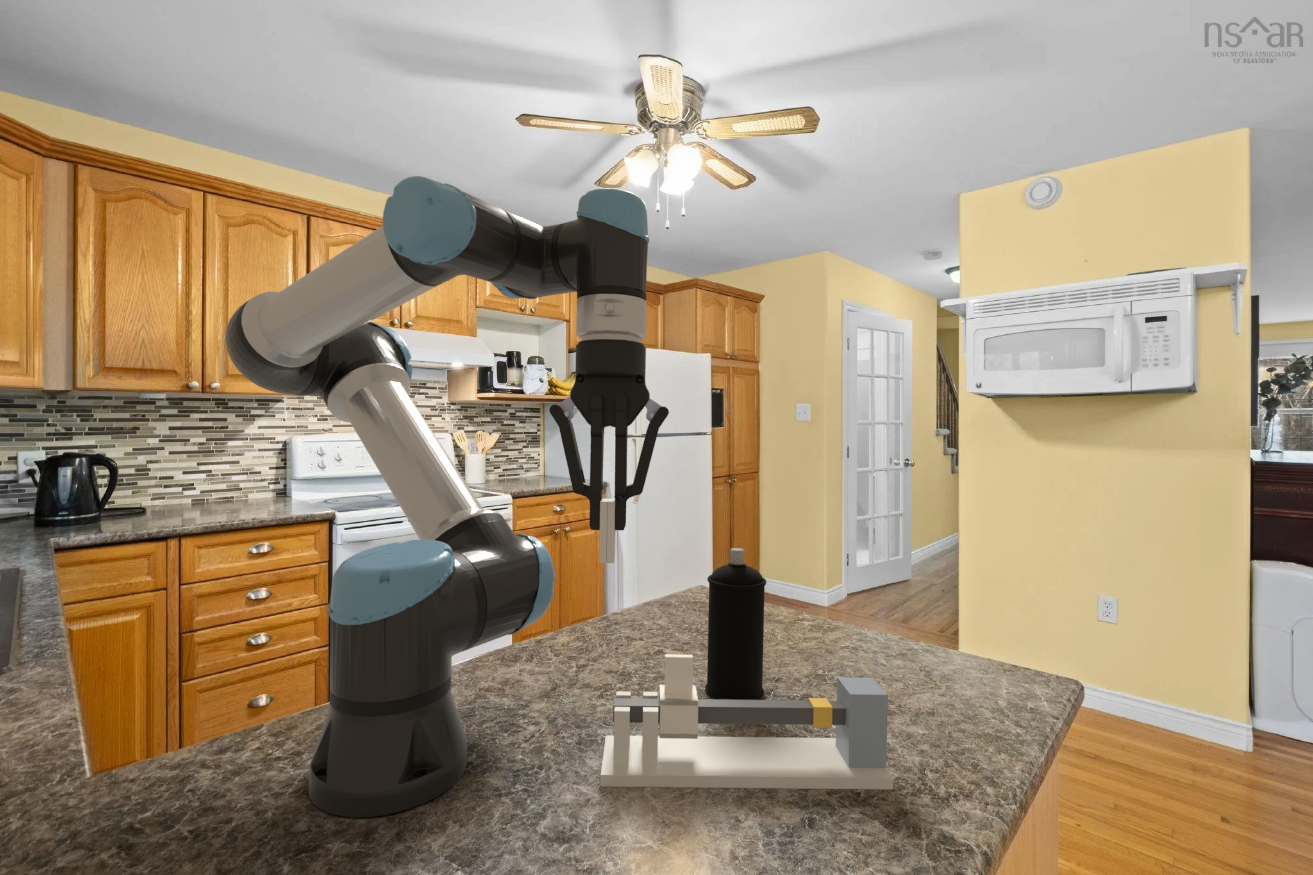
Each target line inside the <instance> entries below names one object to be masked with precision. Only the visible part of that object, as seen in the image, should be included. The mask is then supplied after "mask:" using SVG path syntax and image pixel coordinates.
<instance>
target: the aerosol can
mask: <svg viewBox="0 0 1313 875" xmlns="http://www.w3.org/2000/svg"><path fill="white" fill-rule="evenodd" d="M729 551H730V554H729V555H730V558H729V563H728V564H724V565H722V566H720V567H717V568H716V569H715V570H713V572H712V573H711V574H710V575H708V576H707V578H706V579H707V580H706V581H707V582H708V619H707V620H708V621H707V622H708V623H707V624H708V626H707V628H708V629H707V631H708V632H707V673H706V676H707V677H706V681H707V682H706V684H705V686H704V690H705V693H706V694H707V695H708V697H710V698H712V699H721V700H762V698H763V697H764V695H765V690H764V688H763V683H764V682H763V677H764V676H763V675H764V673H763V672H764V671H763V670H764V634H765V633H764V630H765V629H764V628H765V624H764V623H765V591H766V590H765V586H766V585H767V583H768V582H767V579H766V578H764V577H763V574H761V573H760V571H758V570H757V569H756V568H753V567H752V566H749V565H747V564H746V563H745V549H743V548H741V547H740V548H739V547H734V548H733V547H732V548H730V550H729Z"/></svg>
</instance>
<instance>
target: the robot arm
mask: <svg viewBox="0 0 1313 875" xmlns="http://www.w3.org/2000/svg"><path fill="white" fill-rule="evenodd" d="M392 193H393V194H392V196H388V197H387V198H386V200H385V201H386V202H385V204H384V208H383V211H382V212H383V214H382V225H381V226H380V227H378V228H377V229H376V230H374V231H373V232H370V233H369V234H367V235H366V236H364V237H363V238H362V239H361V238H360V240H358V241H356V242H355V243H354V244H351V246H348V247H347V248H346V249H344V250H343V251H341V252H340V253H338V254H336V255H335V256H333V257H332V258H330V259H328V260H327V261H326V262H325V261H324V263H322V264H321V265H319V266H317V267H316V268H315V269H313V270H311V271H309V272H308V273H306V274H305V275H303V276H302V277H300V278H299V279H298V280H296V281H294V282H293V283H291V284H290V285H288V286H286V287H285V288H283V289H281V290H280V291H266V292H262V293H259V294H257V295H255V296H254V297H252V298H250V299H248V300H247V301H245V302H244V303H243V304H242V305H240V306H239V307H238V308H237V309H236V311H235V312H234V313H233V314H232V315H231V317H230V319H229V320H228V323H227V325H226V330H225V340H224V341H225V346H226V351H227V354H228V357H229V359H230V361H231V363H232V364H233V365H234V367H235V368H236V370H237V371H238V372H239V373H240V374H241V375H242V376H243V377H244V378H246V379H247V380H248V381H250V382H251V383H253V384H254V385H256V386H258V387H260V388H262V389H264V390H266V391H269V392H273V393H278V394H281V395H282V394H283V395H290V396H291V395H292V396H293V395H295V396H304V397H305V396H309V397H318V398H319V397H320V398H321V399H322V400H323V402H324V403H325V405H326V407H327V408H328V410H329V413H331V415H332V416H333V417H334V418H335V419H337V420H339V421H342V422H344V423H350V424H351V426H352V427H353V429H354V432H356V435H357V436H358V438H359V440H360V441H361V443H362V444H363V447H364V448H365V450H366V452H367V453H368V454H369V456H370V458H371V460H372V461H373V463H374V464H375V466H376V468H377V470H378V472H379V473H380V474H381V477H382V479H383V480H384V482H385V483H386V486H387V487H388V488H389V490H390V492H391V493H392V495H393V496H394V499H395V500H396V502H397V504H398V505H399V507H400V509H401V510H402V512H403V513H404V515H405V518H406V519H407V521H408V522H409V524H410V525H411V528H413V530H414V532H415V534H416V536H417V538H418V539H415V540H414V539H413V540H407V541H405V542H404V541H403V542H392V543H387V544H386V543H385V544H382V545H377V546H374V547H371V548H368V549H365V550H363V551H360V552H357V553H355V554H353V555H352V556H350V557H348V558H347V559H345V560H344V561H342V562H341V563H340V565H339V566H338V568H336V571H334V574H333V577H332V581H331V590H330V600H329V601H330V602H329V604H328V607H327V608H328V616H329V618H330V622H329V623H330V625H329V626H330V628H329V629H330V630H329V631H330V633H329V634H330V637H329V641H330V642H329V643H330V645H329V707H328V708H329V709H328V713H327V715H326V718H325V720H324V725H323V726H322V730H321V732H320V736H319V739H318V741H317V744H316V746H315V750H314V752H313V755H312V758H311V761H310V764H309V769H308V797H309V799H310V801H311V803H312V804H313V805H314V806H315V807H317V808H318V809H319V810H321V811H324V812H325V813H328V814H331V815H335V816H340V817H348V818H369V817H370V818H373V817H380V816H385V815H386V816H387V815H391V814H396V813H400V812H403V811H407V810H410V809H412V808H415V807H418V806H421V805H423V804H425V803H428V802H430V801H431V800H434V799H435V798H437V797H438V796H440V795H442V794H443V793H446V791H448V790H449V789H450V788H452V787H453V786H454V785H455V784H457V782H458V781H459V780H460V779H461V777H462V776H463V774H464V773H465V770H466V768H467V764H468V740H467V736H466V733H465V732H466V731H465V730H464V727H463V724H462V720H461V718H460V715H459V712H458V708H457V705H456V702H455V700H454V697H453V694H452V662H453V661H452V660H453V659H452V657H453V656H455V655H457V654H459V653H462V652H465V651H468V650H470V649H473V648H475V647H478V646H481V645H484V644H487V643H490V642H492V641H495V640H497V639H500V638H502V637H504V636H510V635H514V634H516V633H519V632H520V631H521V630H523V629H524V628H526V627H528V626H530V625H532V624H535V623H536V622H537V621H539V620H540V619H541V618H542V617H543V615H544V614H545V613H546V612H547V610H548V608H549V607H550V605H551V602H552V600H553V597H554V590H555V589H554V583H555V580H556V575H555V572H556V571H555V568H554V567H555V566H554V563H553V559H552V556H551V554H550V552H549V550H548V548H547V547H546V546H545V544H544V543H543V542H542V541H541V540H540V539H539V538H537V537H535V536H533V535H528V534H525V533H517V534H516V533H514V531H513V530H512V528H511V526H510V525H509V524H508V523H507V521H506V519H505V518H504V516H503V515H502V514H501V513H500V512H499V511H496V510H488V509H484V508H483V507H482V505H481V503H480V502H479V500H478V499H477V497H476V496H475V494H474V492H473V491H472V489H471V488H470V486H469V485H468V484H467V482H466V481H465V479H464V477H463V475H461V473H460V472H459V470H458V469H457V467H456V466H455V464H454V462H453V461H452V459H451V458H450V456H449V455H448V453H447V452H446V450H445V448H444V447H443V445H442V444H441V443H440V441H439V439H438V438H437V437H436V435H435V433H434V431H433V430H432V429H431V428H430V425H429V424H428V423H427V421H426V420H425V418H424V417H423V415H422V414H421V412H420V410H419V409H418V408H417V406H416V404H415V403H414V401H413V400H412V398H411V396H409V394H408V393H409V392H410V388H411V380H412V378H413V377H412V375H413V364H411V363H410V360H412V354H411V352H410V349H409V346H408V345H407V343H406V342H405V340H404V338H403V337H402V336H401V335H400V334H399V333H398V332H396V331H395V330H393V329H392V328H390V327H387V326H385V325H380V324H379V323H376V322H372V321H374V320H376V319H378V318H379V317H381V316H383V315H386V314H387V313H388V312H391V311H393V310H394V309H396V308H398V307H400V306H402V305H404V304H406V303H408V302H410V301H412V300H413V299H416V298H417V297H419V296H421V295H423V294H425V293H427V292H429V291H431V290H432V289H435V288H436V287H438V286H441V285H443V284H444V283H446V282H449V281H451V280H452V279H455V278H456V277H458V276H467V277H471V278H476V279H478V280H482V281H486V282H489V283H491V284H492V285H493V287H494V288H496V289H497V290H498V291H499V292H500V294H502V296H504V297H507V298H509V299H515V300H516V299H526V300H527V299H528V300H536V299H538V298H539V299H540V298H543V297H550V296H556V295H563V294H564V295H565V294H568V293H570V294H571V293H576V315H575V316H576V319H575V320H576V325H575V326H576V328H575V335H576V336H577V337H578V338H579V339H581V340H579V341H578V342H577V343H576V345H575V371H574V372H575V374H574V375H575V377H574V378H575V380H574V384H573V386H572V388H571V389H570V392H569V397H567V398H566V399H564V400H563V401H560V402H559V403H557V404H556V403H555V404H552V405H551V406H550V407H549V410H548V411H549V413H550V415H551V417H552V418H553V421H555V423H556V424H557V426H558V429H559V434H560V439H561V442H562V443H561V444H562V447H563V448H562V449H563V452H564V456H565V460H566V466H567V469H568V475H569V479H570V483H571V486H572V487H571V488H572V492H573V493H574V494H576V495H580V496H582V497H585V498H587V499H588V501H589V528H590V530H591V531H599V550H598V551H599V552H598V556H599V558H598V562H599V564H614V563H615V559H616V531H624V530H625V528H626V526H627V502H628V500H629V499H631V498H632V497H635V496H639V495H642V494H643V491H644V488H645V485H646V480H647V476H648V472H649V468H650V465H651V460H652V457H653V452H654V449H655V444H656V441H657V437H658V434H659V430H660V428H661V426H662V425H663V423H664V422H665V421H666V419H667V417H668V415H669V414H670V410H669V409H668V408H667V407H666V406H663V405H660V404H659V403H658V402H657V401H655V400H653V399H652V398H650V396H651V394H650V391H649V389H648V387H647V385H646V366H647V365H646V364H647V363H646V360H647V358H646V357H647V355H646V354H647V347H646V346H645V344H644V343H642V341H644V340H645V339H646V338H647V321H648V320H647V312H648V311H647V308H648V307H647V306H648V304H647V275H648V274H647V273H648V272H647V271H648V253H649V252H648V251H649V243H650V238H649V226H648V209H647V205H646V203H645V201H644V200H643V199H642V198H641V197H639V196H638V195H636V194H635V193H633V192H631V191H628V190H625V189H620V188H612V187H611V188H609V187H608V188H606V187H604V188H597V189H593V190H589V191H587V192H586V193H585V194H583V195H582V196H581V197H580V198H579V200H578V205H577V206H578V208H577V211H576V217H577V218H576V219H574V220H568V221H566V222H563V223H558V224H557V223H556V224H553V225H552V224H551V225H540V224H537V223H534V222H533V221H530V220H528V219H527V218H524V217H521V216H518V215H516V214H514V213H512V212H510V211H507V210H506V209H505V210H504V209H503V208H500V207H498V206H496V205H493V204H491V203H489V202H487V201H485V200H483V199H480V198H478V197H476V196H473V195H472V194H470V193H466V192H465V191H463V190H461V189H459V188H458V187H456V186H454V185H451V184H449V183H443V182H440V181H437V180H435V179H434V180H433V179H431V178H428V177H425V176H420V175H419V176H418V175H414V176H409V177H406V178H404V179H402V180H401V181H399V182H398V183H397V184H396V185H395V186H394V188H393V192H392ZM574 407H576V409H577V410H578V411H579V413H580V415H581V416H582V417H583V418H584V420H585V421H586V423H587V424H588V425H590V455H589V456H590V462H589V483H586V478H585V474H584V469H583V466H582V465H583V464H582V460H581V456H580V451H579V446H578V441H577V438H576V433H575V429H574V425H573V423H572V422H573V421H572V420H573V418H574V417H575V412H574ZM644 408H645V409H646V413H645V418H646V421H648V422H649V423H648V425H647V428H646V432H645V436H644V440H643V443H642V447H641V451H640V455H639V459H638V462H637V467H636V471H635V474H634V479H633V482H632V483H630V484H628V431H629V430H628V429H629V428H628V427H629V426H631V425H632V424H633V423H634V421H635V420H637V418H638V417H639V415H640V413H641V412H643V411H642V410H644ZM607 427H612V428H614V437H615V438H614V439H615V440H614V442H615V443H614V446H615V447H614V448H615V449H614V496H613V497H614V498H603V494H604V489H603V488H604V486H603V485H604V484H603V483H604V449H605V448H604V446H605V444H604V442H605V439H604V438H605V428H607Z"/></svg>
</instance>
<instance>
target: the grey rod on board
mask: <svg viewBox="0 0 1313 875" xmlns="http://www.w3.org/2000/svg"><path fill="white" fill-rule="evenodd" d="M631 692H632V691H621V690H620V691H616V693H615V694H616V695H615V697H614V698H613V704H612V723H613V735H609V734H608V735H605V741H604V747H603V754H602V761H601V768H600V769H601V770H600V783H599V784H600V787H606V788H607V787H609V788H610V787H612V788H614V787H617V788H620V787H621V788H625V787H626V788H700V789H701V788H702V789H703V788H706V789H707V788H711V789H712V788H713V789H717V788H718V789H720V788H721V789H794V790H795V789H801V790H802V789H806V790H807V789H809V790H810V789H814V790H817V789H818V790H829V789H830V790H890V791H891V790H893V789H894V777H893V776H892V774H891V773H890V771H889V770H888V769H887V754H888V753H887V750H888V746H887V744H888V741H887V740H888V714H889V713H888V711H889V710H888V708H889V707H888V706H889V705H888V704H889V694H888V693H887V692H886V691H885V689H883V687H882V686H881V685H880V684H879V683H878V681H876V680H875V679H874V678H873V677H850V676H849V677H844V676H843V677H841V676H840V677H838V676H837V677H836V700H828V698H827V697H808V700H800V699H799V700H796V699H795V700H791V699H790V700H789V699H788V700H786V699H785V700H784V699H781V700H780V699H760V700H721V699H713V698H712V699H711V698H710V699H709V698H708V699H706V698H705V699H703V698H700V699H699V698H698V724H712V725H713V724H717V725H718V724H722V725H723V724H724V725H726V724H728V725H729V724H730V725H733V724H734V725H800V726H801V725H806V726H808V725H809V726H812V727H813V728H817V729H818V728H820V729H821V728H825V729H826V728H831V729H832V728H833V726H835V737H785V736H784V737H783V736H782V737H777V736H776V737H771V736H767V737H766V736H764V737H763V736H698V739H678V738H660V736H659V723H660V699H659V697H658V695H659V694H658V691H643V692H642V696H643V697H642V698H641V697H640V698H637V697H635V698H633V697H632V696H631V695H632V693H631ZM631 723H636V724H637V723H639V724H640V723H641V724H642V735H631Z"/></svg>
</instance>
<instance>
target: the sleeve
mask: <svg viewBox="0 0 1313 875" xmlns="http://www.w3.org/2000/svg"><path fill="white" fill-rule="evenodd" d="M693 680H694V656H693V654H677V653H676V654H673V653H672V654H671V653H669V654H668V653H667V654H664V684H659V694H658V695H659V697H658V699H660V723H658V736H660V738H678V739H698V734H699V723H698V699H699V697H698V693H697V687H696V685H695V684H693V682H694V681H693Z"/></svg>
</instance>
